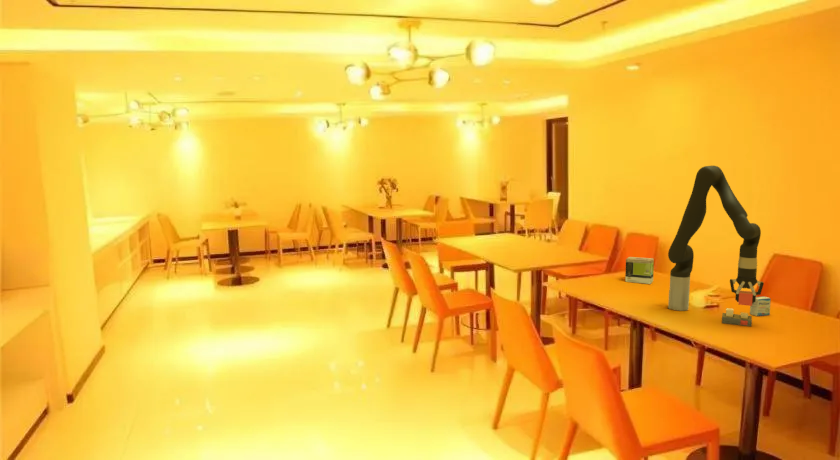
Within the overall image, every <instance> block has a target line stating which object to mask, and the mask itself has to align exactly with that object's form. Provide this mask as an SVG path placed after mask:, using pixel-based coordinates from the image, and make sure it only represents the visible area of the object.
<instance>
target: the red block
mask: <svg viewBox="0 0 840 460" xmlns="http://www.w3.org/2000/svg"><path fill="white" fill-rule="evenodd" d="M752 298H753V293H752V291H751V290H749V291H747V290H740V292H739V302H737V303H738V305H740V306H748V307H750V306H752Z"/></svg>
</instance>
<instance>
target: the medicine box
mask: <svg viewBox="0 0 840 460" xmlns="http://www.w3.org/2000/svg"><path fill="white" fill-rule="evenodd" d="M771 301H772V300H771V298H770V297H769V296H768V297H767V296H756V301H755V302H754V304H753V303H752V306H749V307H750V308H749V314H750V316H755V317H764V316H766V317H767V316H770V315H771Z"/></svg>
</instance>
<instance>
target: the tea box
mask: <svg viewBox="0 0 840 460" xmlns="http://www.w3.org/2000/svg"><path fill="white" fill-rule="evenodd" d="M654 264H655V259H654V258H653V257H650V258H649V257H637V256H636V257H635V256H628V257H627V258H625V275H624V276H625V277H624V278H625V282H628V283H636V284H647V285H648V284H649V285H651V284H652V283H653V282H654V270H655V269H654Z"/></svg>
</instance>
